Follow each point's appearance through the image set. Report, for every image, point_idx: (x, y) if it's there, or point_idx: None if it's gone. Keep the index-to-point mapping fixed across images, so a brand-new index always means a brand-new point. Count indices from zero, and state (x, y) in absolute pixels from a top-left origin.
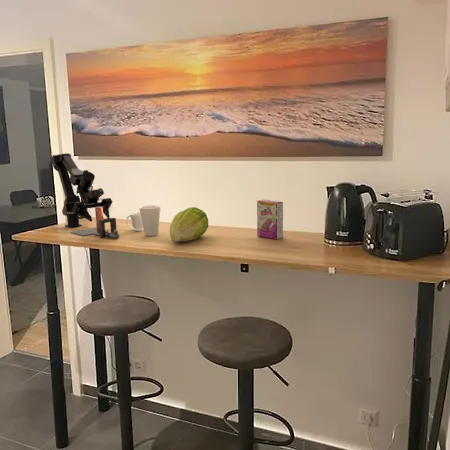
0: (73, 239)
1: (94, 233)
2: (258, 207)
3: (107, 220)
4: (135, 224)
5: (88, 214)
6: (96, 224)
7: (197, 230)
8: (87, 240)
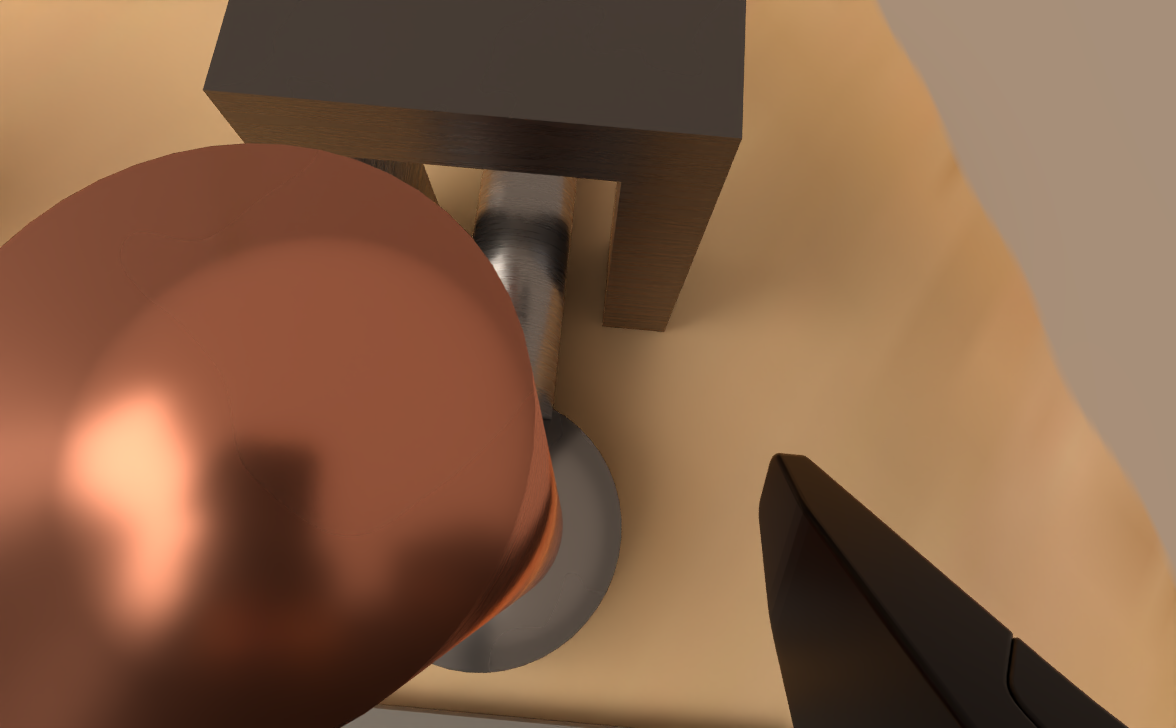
0: (1050, 656)
1: (614, 571)
2: None
3: (533, 6)
4: None
5: (942, 611)
6: (551, 554)
7: None
8: (903, 357)
